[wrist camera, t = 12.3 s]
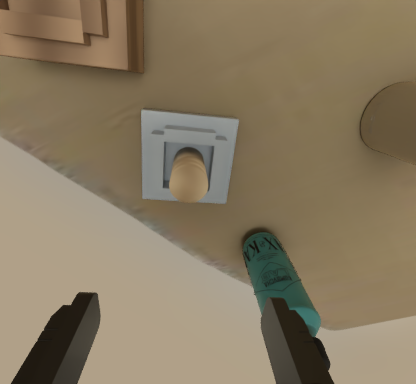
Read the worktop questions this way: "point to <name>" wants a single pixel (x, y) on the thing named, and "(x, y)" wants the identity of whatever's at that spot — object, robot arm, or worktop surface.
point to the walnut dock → (75, 32)
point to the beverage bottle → (279, 281)
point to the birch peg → (188, 176)
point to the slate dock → (180, 138)
